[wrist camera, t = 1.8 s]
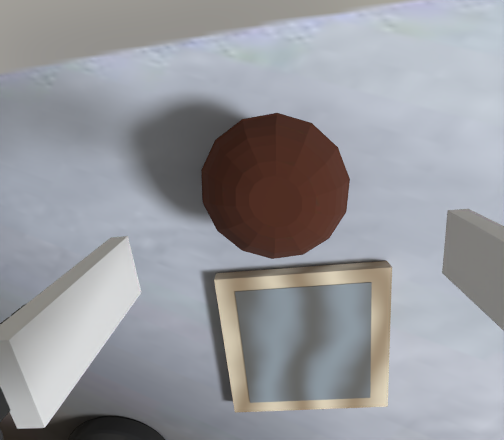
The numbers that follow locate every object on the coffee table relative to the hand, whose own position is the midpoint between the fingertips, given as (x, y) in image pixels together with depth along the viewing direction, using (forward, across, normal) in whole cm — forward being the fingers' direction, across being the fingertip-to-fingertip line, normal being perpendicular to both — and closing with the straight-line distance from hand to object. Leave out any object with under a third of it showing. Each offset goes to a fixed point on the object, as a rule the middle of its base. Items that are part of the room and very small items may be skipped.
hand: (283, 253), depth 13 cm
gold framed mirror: (+19, -2, +19) cm, 27 cm away
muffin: (+19, 0, 0) cm, 19 cm away
